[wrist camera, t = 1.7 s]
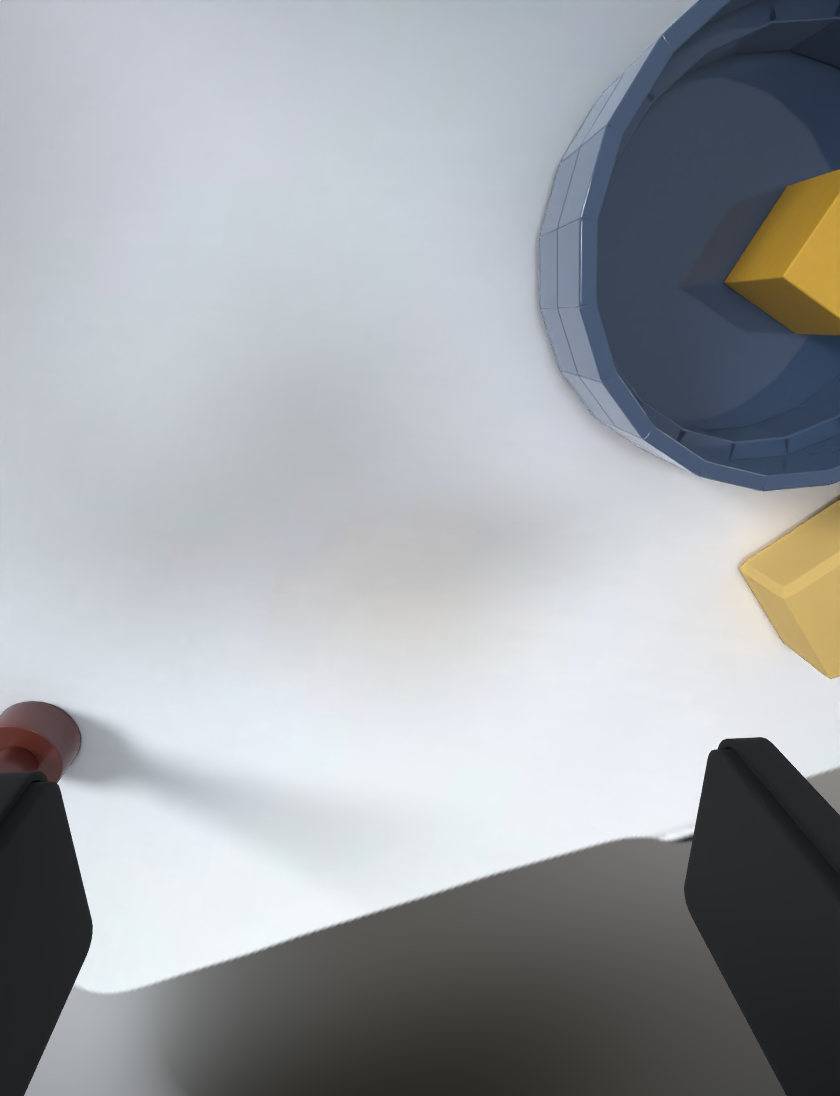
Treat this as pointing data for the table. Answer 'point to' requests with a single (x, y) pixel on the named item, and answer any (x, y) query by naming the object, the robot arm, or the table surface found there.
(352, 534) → the table surface
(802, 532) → the rubber stamp
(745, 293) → the block
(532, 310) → the table surface
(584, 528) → the table surface
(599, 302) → the bowl
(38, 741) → the red capped peg
